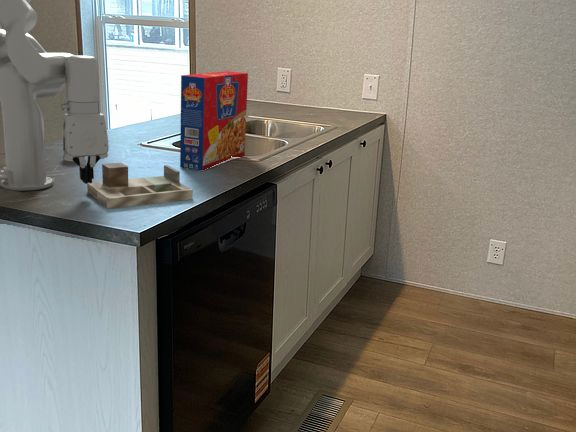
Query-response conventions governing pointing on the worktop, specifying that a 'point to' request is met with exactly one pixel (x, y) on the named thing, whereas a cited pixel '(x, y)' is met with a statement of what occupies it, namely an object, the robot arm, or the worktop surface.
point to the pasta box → (212, 118)
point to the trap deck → (142, 190)
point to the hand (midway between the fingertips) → (87, 182)
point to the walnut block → (115, 174)
